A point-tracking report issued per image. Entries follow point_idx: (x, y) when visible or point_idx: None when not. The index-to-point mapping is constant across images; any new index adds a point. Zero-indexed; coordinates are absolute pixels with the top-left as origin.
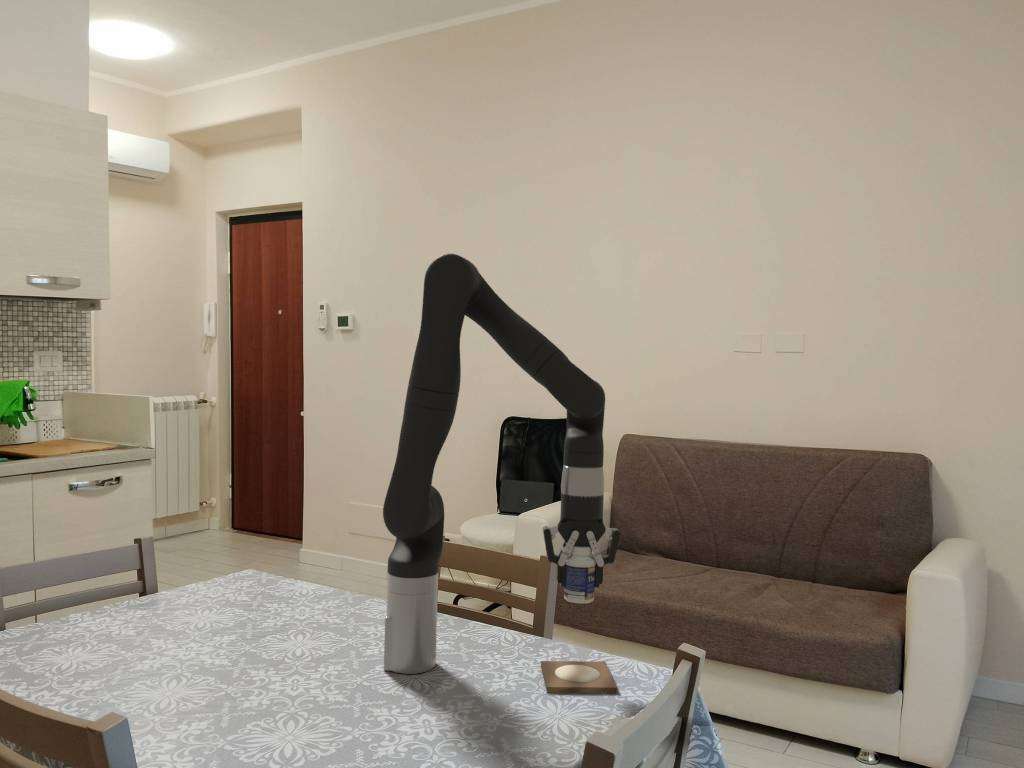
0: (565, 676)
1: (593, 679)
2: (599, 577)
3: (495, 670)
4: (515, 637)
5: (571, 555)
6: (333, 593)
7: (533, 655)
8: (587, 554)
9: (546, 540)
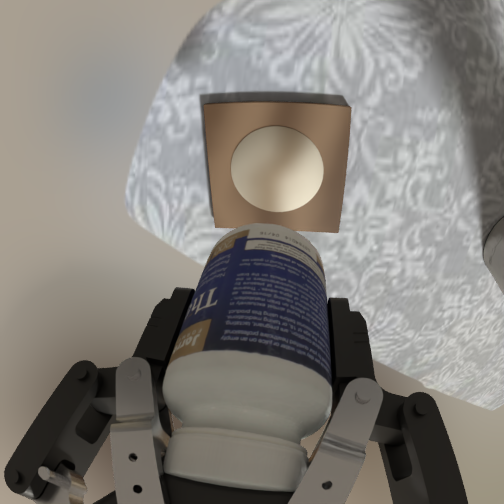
0: (304, 155)
1: (247, 140)
2: (163, 321)
3: (417, 215)
4: None
5: (298, 438)
6: (470, 396)
7: (338, 271)
8: (192, 432)
9: (460, 498)
